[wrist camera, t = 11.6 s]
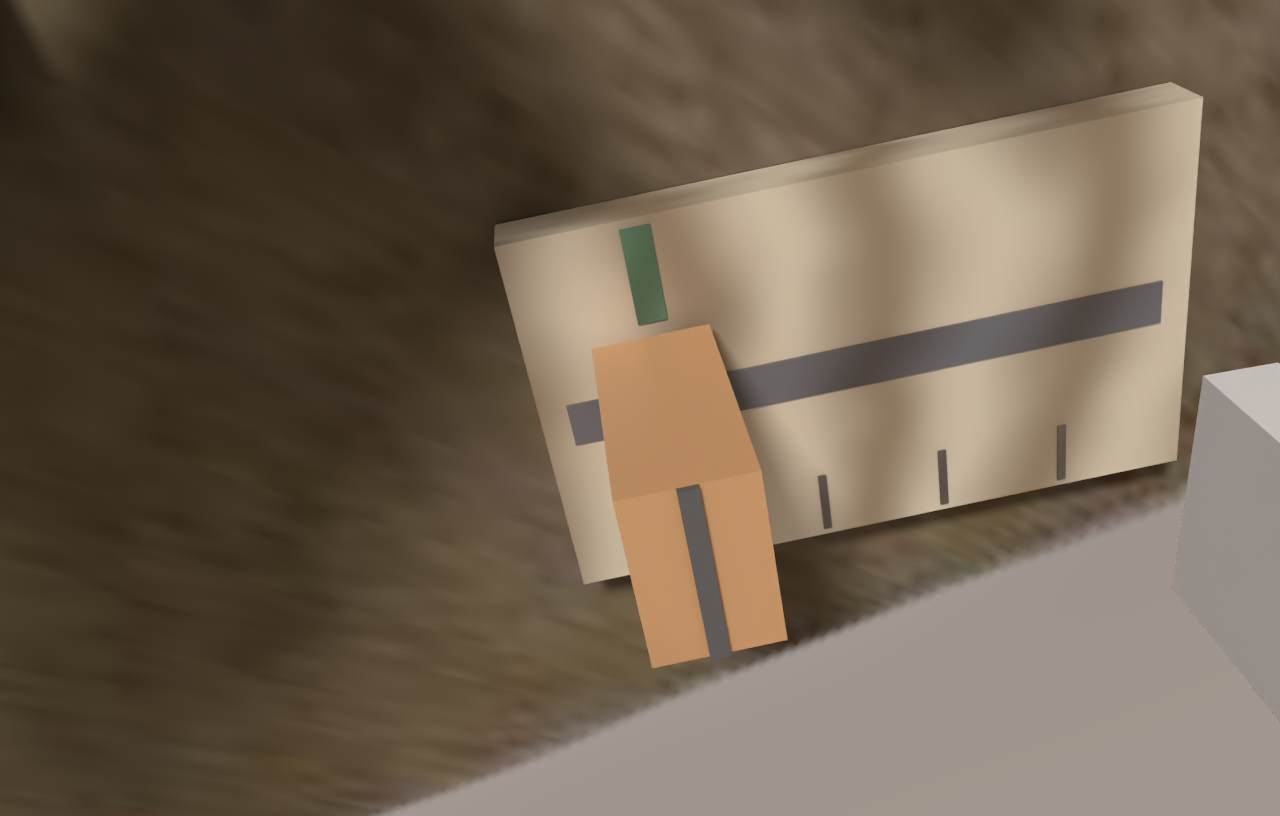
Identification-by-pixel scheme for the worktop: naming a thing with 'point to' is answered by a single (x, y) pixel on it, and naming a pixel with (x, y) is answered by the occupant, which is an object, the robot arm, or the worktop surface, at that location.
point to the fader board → (890, 312)
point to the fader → (687, 498)
